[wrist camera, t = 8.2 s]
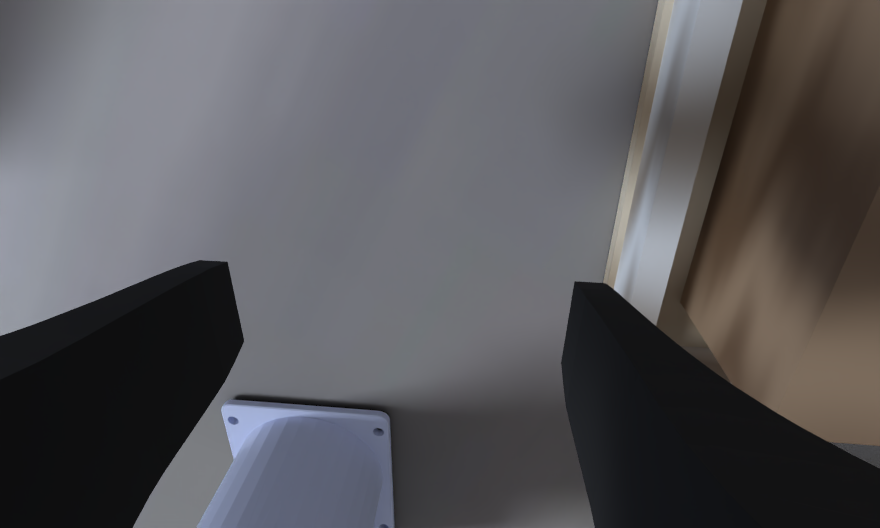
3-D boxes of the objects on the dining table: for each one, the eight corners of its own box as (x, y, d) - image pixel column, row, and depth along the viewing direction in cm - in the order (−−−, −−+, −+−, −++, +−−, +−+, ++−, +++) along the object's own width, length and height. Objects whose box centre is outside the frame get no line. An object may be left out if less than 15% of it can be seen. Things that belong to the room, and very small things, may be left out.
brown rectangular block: (778, 307, 18) (910, 448, 12) (680, 302, 18) (765, 436, 13) (937, -89, 13) (1310, -165, 7) (793, -90, 13) (1036, -164, 7)
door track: (816, 366, 20) (859, 413, 18) (589, 351, 21) (601, 395, 18) (1106, -243, 11) (1258, -303, 9) (705, -236, 12) (755, -292, 10)
